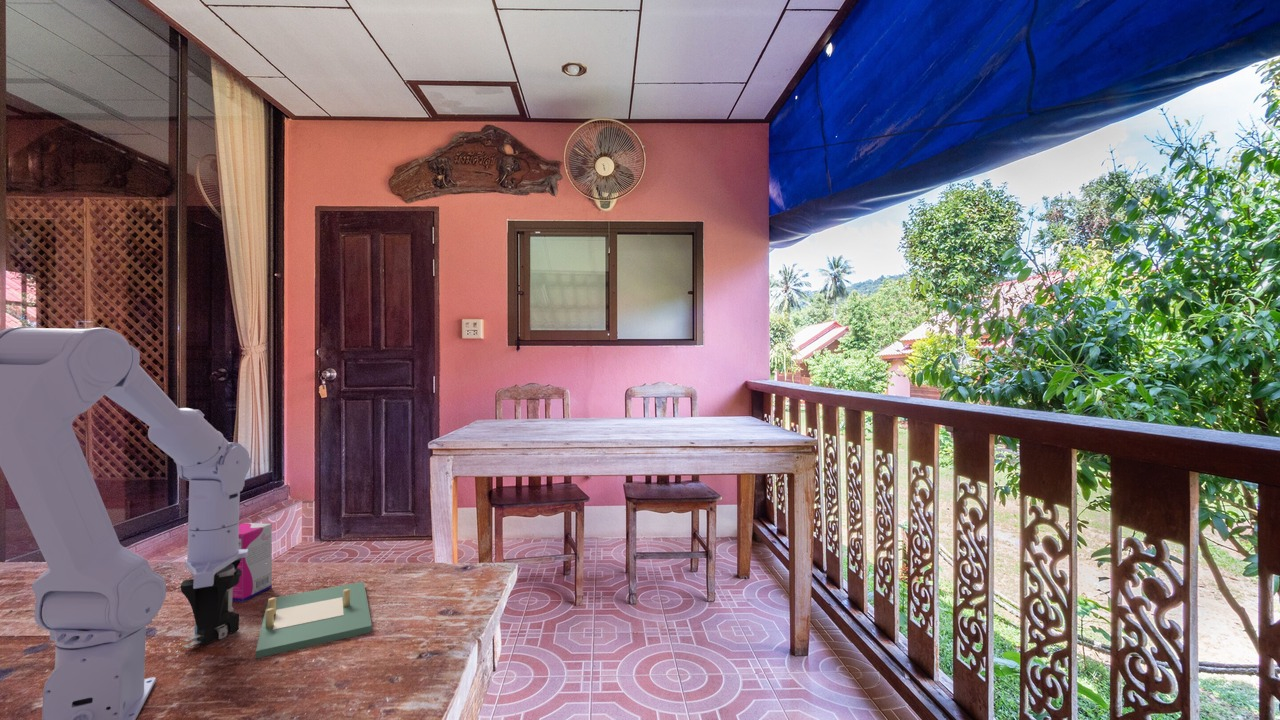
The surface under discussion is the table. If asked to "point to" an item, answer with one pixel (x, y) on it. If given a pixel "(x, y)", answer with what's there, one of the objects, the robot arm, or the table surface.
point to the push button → (227, 618)
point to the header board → (313, 618)
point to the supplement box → (254, 561)
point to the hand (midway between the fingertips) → (211, 619)
